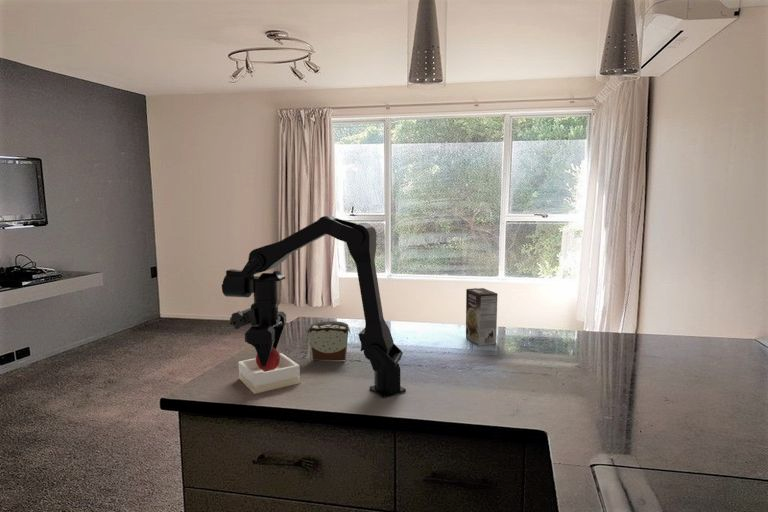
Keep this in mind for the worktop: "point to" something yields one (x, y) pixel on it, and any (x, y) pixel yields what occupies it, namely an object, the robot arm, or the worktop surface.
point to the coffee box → (481, 316)
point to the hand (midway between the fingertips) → (268, 359)
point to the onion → (270, 361)
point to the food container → (328, 340)
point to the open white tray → (269, 375)
